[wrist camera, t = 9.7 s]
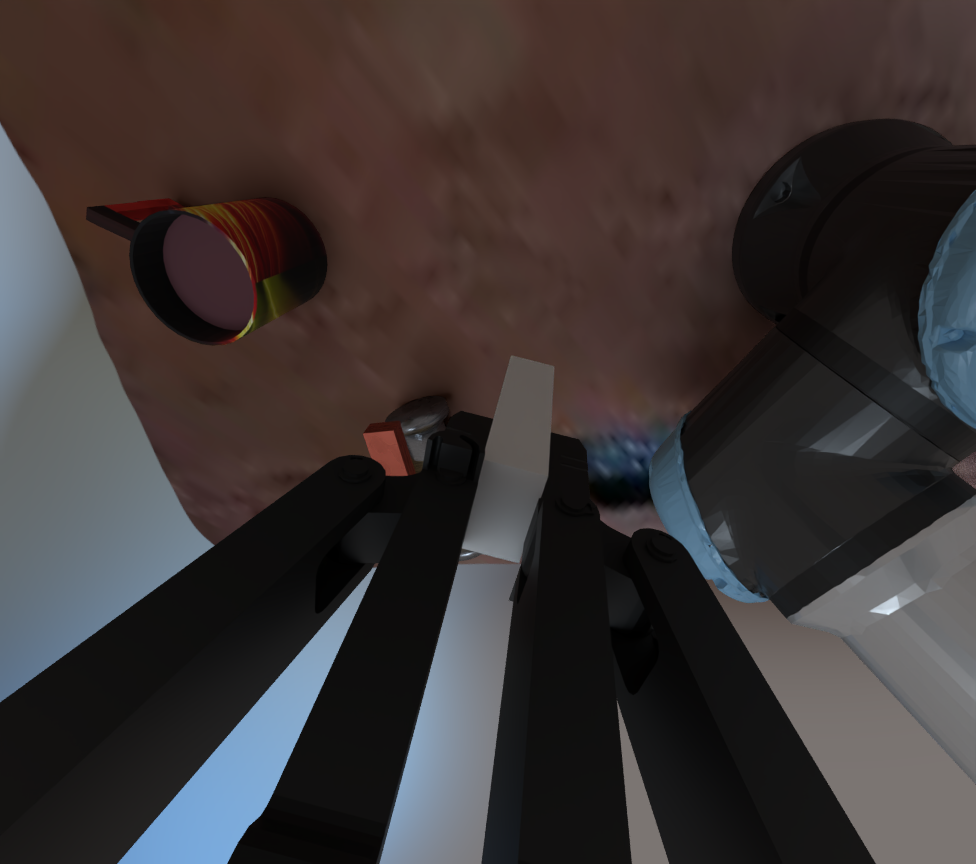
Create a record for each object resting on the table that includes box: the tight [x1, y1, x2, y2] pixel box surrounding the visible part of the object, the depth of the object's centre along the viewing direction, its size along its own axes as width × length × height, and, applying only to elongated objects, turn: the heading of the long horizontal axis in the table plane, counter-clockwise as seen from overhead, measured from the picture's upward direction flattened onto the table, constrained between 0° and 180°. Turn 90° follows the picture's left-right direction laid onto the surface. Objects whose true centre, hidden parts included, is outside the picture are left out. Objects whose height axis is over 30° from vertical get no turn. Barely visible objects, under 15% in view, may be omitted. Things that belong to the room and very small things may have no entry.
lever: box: [363, 421, 416, 476], centre depth 42 cm, size 14×4×5 cm, turn 11°
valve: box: [385, 396, 482, 561], centre depth 51 cm, size 17×8×9 cm, turn 17°
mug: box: [86, 197, 327, 346], centre depth 41 cm, size 10×14×12 cm
